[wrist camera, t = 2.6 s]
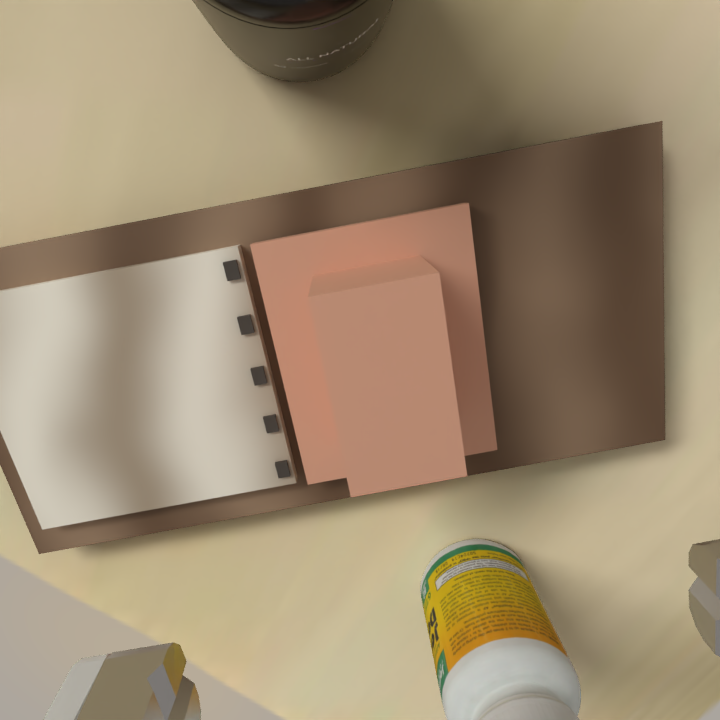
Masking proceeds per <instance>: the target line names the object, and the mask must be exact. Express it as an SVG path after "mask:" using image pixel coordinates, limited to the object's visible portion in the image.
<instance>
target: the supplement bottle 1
mask: <svg viewBox="0 0 720 720" xmlns="http://www.w3.org/2000/svg"><path fill="white" fill-rule="evenodd" d="M192 1H193V2H194V3H195V5H196V6H197V8H198V9H199V10H200V12H201V13H202V14H203V16H204V17H205V19H206V20H207V21H208V23H209V24H210V25H211V27H212V28H213V30H214V31H215V32H216V34H217V35H218V36H219V37H220V38H221V40H222V41H223V42H224V43H225V44H226V46H227V47H228V48H229V49H230V50H231V51H232V52H233V53H234V54H235V55H236V56H237V57H238V58H240V59H241V60H242V61H243V62H245V63H246V64H248V65H249V66H251V67H252V68H254V69H255V70H257V71H259V72H261V73H263V74H265V75H268V76H270V77H273V78H277V79H280V80H285V81H293V82H308V81H316V80H320V79H324V78H327V77H330V76H333V75H335V74H337V73H339V72H341V71H343V70H344V69H346V68H347V67H349V66H350V65H352V64H353V63H354V62H355V61H357V60H358V59H359V58H360V57H361V56H362V55H363V54H364V53H365V52H366V50H367V49H368V48H369V47H370V46H371V44H372V43H373V41H374V40H375V39H376V37H377V35H378V34H379V32H380V30H381V28H382V26H383V24H384V22H385V20H386V17H387V15H388V13H389V10H390V7H391V5H392V2H393V0H192Z"/></svg>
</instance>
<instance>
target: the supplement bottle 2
mask: <svg viewBox="0 0 720 720" xmlns="http://www.w3.org/2000/svg"><path fill="white" fill-rule="evenodd" d="M420 591H421V598H422V603H423V608H424V614H425V618H426V623H427V628H428V633H429V638H430V642H431V648H432V653H433V658H434V663H435V669H436V674H437V678H438V684H439V688H440V693H441V698H442V703H443V707H444V711H445V715H446V717H447V720H579V718H578V717H577V715H578V712H579V708H580V702H581V689H580V683H579V680H578V676H577V674H576V671H575V669H574V667H573V665H572V663H571V661H570V659H569V657H568V655H567V653H566V651H565V649H564V647H563V645H562V643H561V641H560V639H559V637H558V635H557V632H556V630H555V628H554V626H553V624H552V622H551V620H550V618H549V616H548V614H547V612H546V610H545V608H544V606H543V604H542V602H541V600H540V598H539V596H538V593H537V591H536V589H535V587H534V585H533V583H532V581H531V579H530V577H529V575H528V573H527V571H526V569H525V567H524V565H523V563H522V562H521V560H520V559H519V558H518V556H517V555H516V554H515V553H514V552H513V551H512V550H510V549H508V548H507V547H505V546H503V545H501V544H498V543H496V542H493V541H489V540H485V539H468V540H463V541H459V542H456V543H454V544H452V545H449V546H448V547H446V548H444V549H443V550H441V551H440V552H439V553H438V554H436V555H435V556H434V557H433V559H432V560H431V561H430V563H429V564H428V566H427V567H426V569H425V571H424V574H423V577H422V580H421V585H420Z"/></svg>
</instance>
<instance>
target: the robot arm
mask: <svg viewBox="0 0 720 720" xmlns="http://www.w3.org/2000/svg"><path fill="white" fill-rule="evenodd" d="M689 567H690V568H691V569H692V570H693V571H694V573H695V574H696V575H697V576H698V577H697V579H696V580H695V581H694V583H693V584H692V586H691V587H690V589H689V608H690V611H691V614H692V617H693V620H694V622H695V625H696V627H697V629H698V631H699V633H700V634H701V636H702V638H703V639H704V641H705V642H706V643H707V645H708V646H709V647H710V648H711V650H712V651H713V652H714V653H715V654H716V655H718V656H720V539H717V540H712V541H707V542H702V543H697V544H693V545H692V547H691V549H690V551H689ZM185 664H186V659H185V656H184V654H183V651H182V649H181V646H180V645H179V644H176V643H168V644H162V645H156V646H150V647H144V648H137V649H131V650H126V651H119V652H113V653H112V654H105V655H99V656H93V657H87V658H81V659H80V660H79V661H77V662H76V663H75V664H74V665H73V666H72V667H71V669H70V671H69V673H68V675H67V677H66V678H65V680H64V682H63V684H62V686H61V687H60V689H59V691H58V693H57V695H56V697H55V699H54V701H53V702H52V704H51V706H50V708H49V710H48V711H47V714H46V715H45V717H44V719H43V720H201V709H200V702H199V696H198V693H197V690H196V687H195V684H194V683H193V682H192V681H190V680H189V679H187V678H186V677H184V676H183V671H184V668H185Z"/></svg>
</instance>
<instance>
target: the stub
mask: <svg viewBox="0 0 720 720" xmlns="http://www.w3.org/2000/svg"><path fill="white" fill-rule="evenodd" d="M250 247H251V252H252V256H253V260H254V264H255V268H256V272H257V276H258V281H259V285H260V289H261V293H262V297H263V301H264V305H265V310H266V314H267V318H268V322H269V326H270V330H271V334H272V339H273V343H274V347H275V351H276V355H277V359H278V363H279V368H280V372H281V376H282V380H283V384H284V388H285V392H286V397H287V401H288V405H289V409H290V413H291V417H292V421H293V426H294V430H295V434H296V438H297V442H298V446H299V451H300V455H301V459H302V463H303V467H304V471H305V475H306V480H307V484H308V485H309V484H314V483H320V482H325V481H330V480H336V479H341V478H347V482H348V486H349V491H350V496H351V497H356V496H362V495H367V494H373V493H378V492H383V491H389V490H394V489H400V488H405V487H411V486H416V485H422V484H427V483H433V482H438V481H444V480H449V479H455V478H460V477H466V476H467V470H466V463H465V456H467V455H473V454H478V453H483V452H489V451H494V450H497V442H496V433H495V424H494V416H493V407H492V398H491V390H490V381H489V372H488V364H487V355H486V346H485V338H484V329H483V321H482V312H481V303H480V295H479V286H478V277H477V269H476V260H475V251H474V243H473V234H472V225H471V217H470V208H469V203H460V204H455V205H450V206H444V207H439V208H434V209H429V210H423V211H418V212H413V213H408V214H402V215H397V216H392V217H387V218H381V219H376V220H371V221H366V222H360V223H355V224H350V225H345V226H339V227H334V228H329V229H324V230H318V231H313V232H308V233H303V234H297V235H292V236H287V237H282V238H276V239H271V240H266V241H261V242H255V243H252V244H250Z"/></svg>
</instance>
